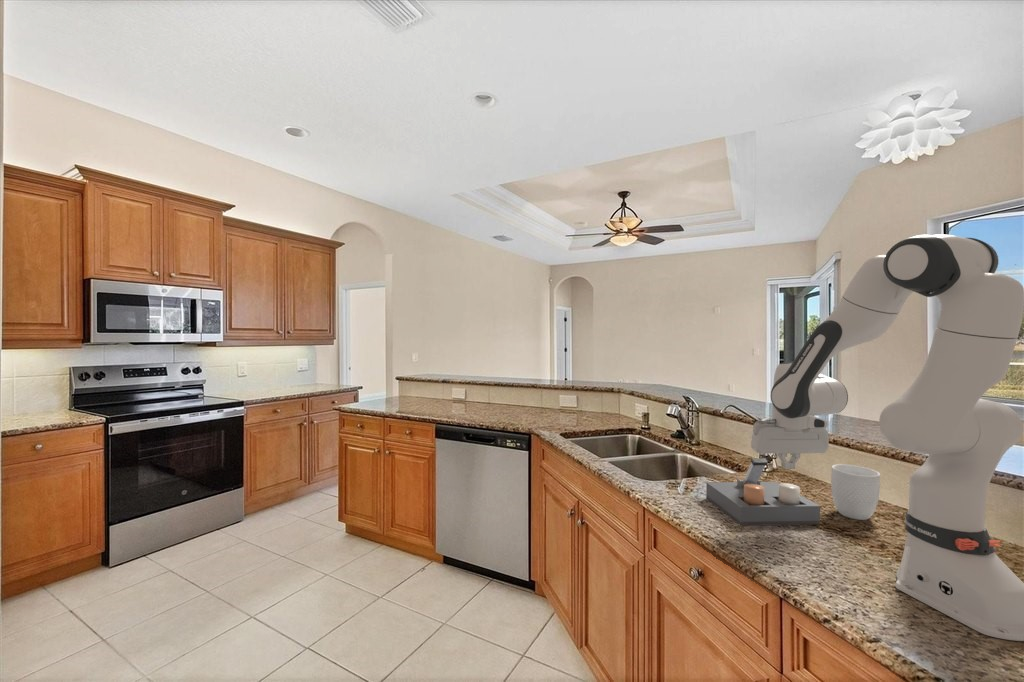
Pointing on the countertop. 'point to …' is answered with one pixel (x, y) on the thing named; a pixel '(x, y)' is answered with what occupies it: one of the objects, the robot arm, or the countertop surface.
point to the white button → (789, 494)
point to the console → (770, 513)
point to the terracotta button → (754, 494)
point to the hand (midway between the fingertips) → (788, 468)
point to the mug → (855, 490)
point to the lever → (754, 470)
